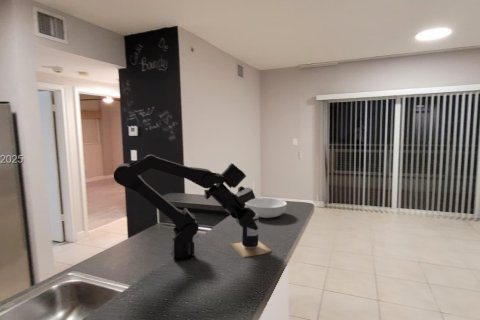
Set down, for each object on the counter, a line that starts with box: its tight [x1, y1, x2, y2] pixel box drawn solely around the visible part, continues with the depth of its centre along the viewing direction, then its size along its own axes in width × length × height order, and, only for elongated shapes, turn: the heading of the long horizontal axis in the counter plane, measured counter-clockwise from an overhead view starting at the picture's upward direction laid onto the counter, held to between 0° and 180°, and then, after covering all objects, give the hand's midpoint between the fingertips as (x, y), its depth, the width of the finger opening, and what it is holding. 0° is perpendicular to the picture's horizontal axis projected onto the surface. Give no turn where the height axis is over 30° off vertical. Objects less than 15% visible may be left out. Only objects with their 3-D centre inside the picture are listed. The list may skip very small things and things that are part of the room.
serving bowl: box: [244, 197, 288, 219], centre depth 147 cm, size 21×21×7 cm
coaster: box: [230, 240, 273, 258], centre depth 105 cm, size 11×11×1 cm
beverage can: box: [241, 212, 260, 249], centre depth 105 cm, size 6×6×12 cm
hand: (254, 226), depth 105 cm, fingers closed on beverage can, 5 cm apart
